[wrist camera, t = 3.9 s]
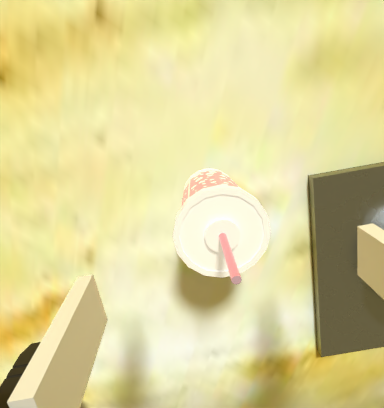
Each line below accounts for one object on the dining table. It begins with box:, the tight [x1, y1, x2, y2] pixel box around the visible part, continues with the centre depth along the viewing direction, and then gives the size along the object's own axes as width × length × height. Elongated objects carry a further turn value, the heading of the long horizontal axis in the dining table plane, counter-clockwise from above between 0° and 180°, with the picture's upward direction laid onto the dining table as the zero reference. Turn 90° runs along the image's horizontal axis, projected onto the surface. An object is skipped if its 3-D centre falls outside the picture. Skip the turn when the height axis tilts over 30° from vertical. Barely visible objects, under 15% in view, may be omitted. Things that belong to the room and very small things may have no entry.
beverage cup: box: [173, 168, 271, 284], centre depth 21 cm, size 6×6×14 cm
